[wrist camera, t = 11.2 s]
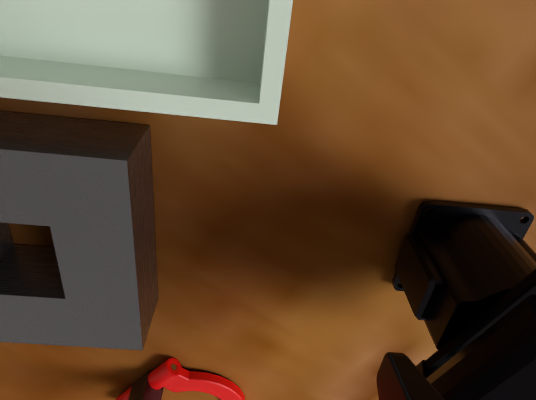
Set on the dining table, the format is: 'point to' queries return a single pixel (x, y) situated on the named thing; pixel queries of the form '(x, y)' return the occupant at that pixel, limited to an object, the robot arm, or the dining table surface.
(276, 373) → the dining table surface
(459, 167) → the dining table surface
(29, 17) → the tray
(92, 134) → the hitch block
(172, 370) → the tow hook
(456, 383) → the robot arm
